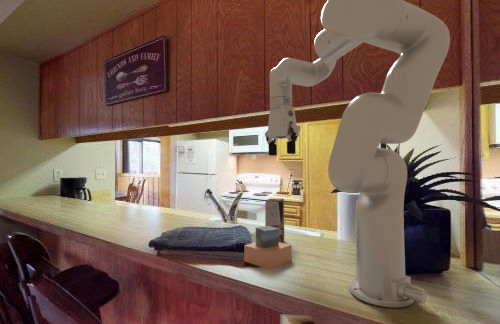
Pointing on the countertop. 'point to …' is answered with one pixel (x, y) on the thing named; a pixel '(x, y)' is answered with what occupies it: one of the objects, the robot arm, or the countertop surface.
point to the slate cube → (267, 236)
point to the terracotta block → (267, 255)
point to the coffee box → (275, 215)
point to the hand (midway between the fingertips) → (281, 154)
